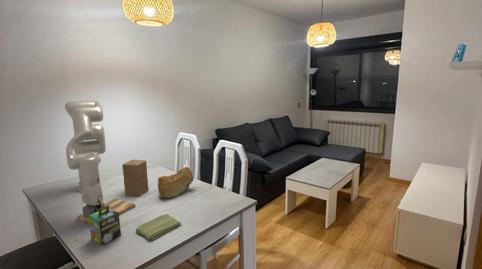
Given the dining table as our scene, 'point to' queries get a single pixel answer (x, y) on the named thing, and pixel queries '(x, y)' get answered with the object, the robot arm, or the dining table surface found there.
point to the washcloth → (157, 226)
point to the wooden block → (135, 177)
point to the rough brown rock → (175, 183)
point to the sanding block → (89, 210)
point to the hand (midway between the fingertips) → (95, 214)
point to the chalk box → (104, 225)
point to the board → (114, 207)
